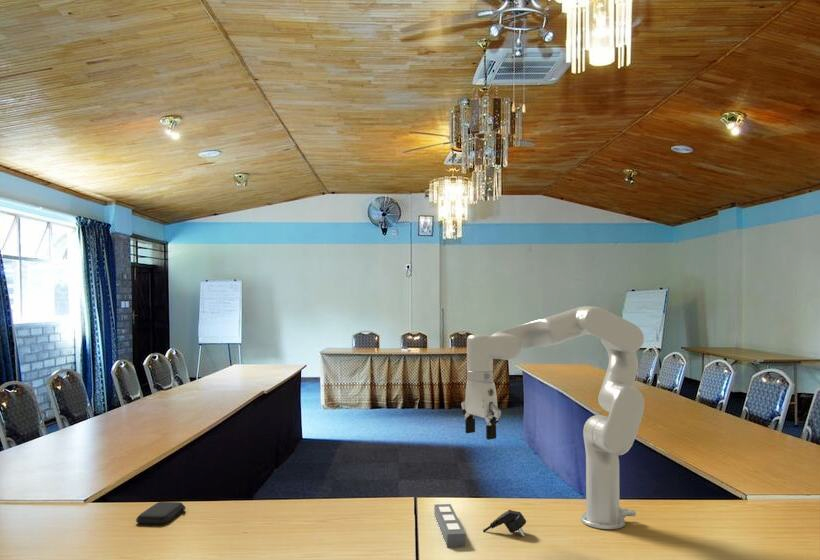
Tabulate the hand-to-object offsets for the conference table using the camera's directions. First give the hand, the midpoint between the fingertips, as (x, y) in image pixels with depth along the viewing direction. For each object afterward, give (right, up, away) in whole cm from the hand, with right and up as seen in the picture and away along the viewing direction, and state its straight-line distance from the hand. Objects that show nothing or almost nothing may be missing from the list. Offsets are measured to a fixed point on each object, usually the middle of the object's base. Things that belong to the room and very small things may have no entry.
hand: (480, 435), depth 180 cm
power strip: (-9, -27, -2) cm, 28 cm away
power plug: (+6, -27, -4) cm, 28 cm away
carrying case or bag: (-96, -27, +8) cm, 100 cm away
